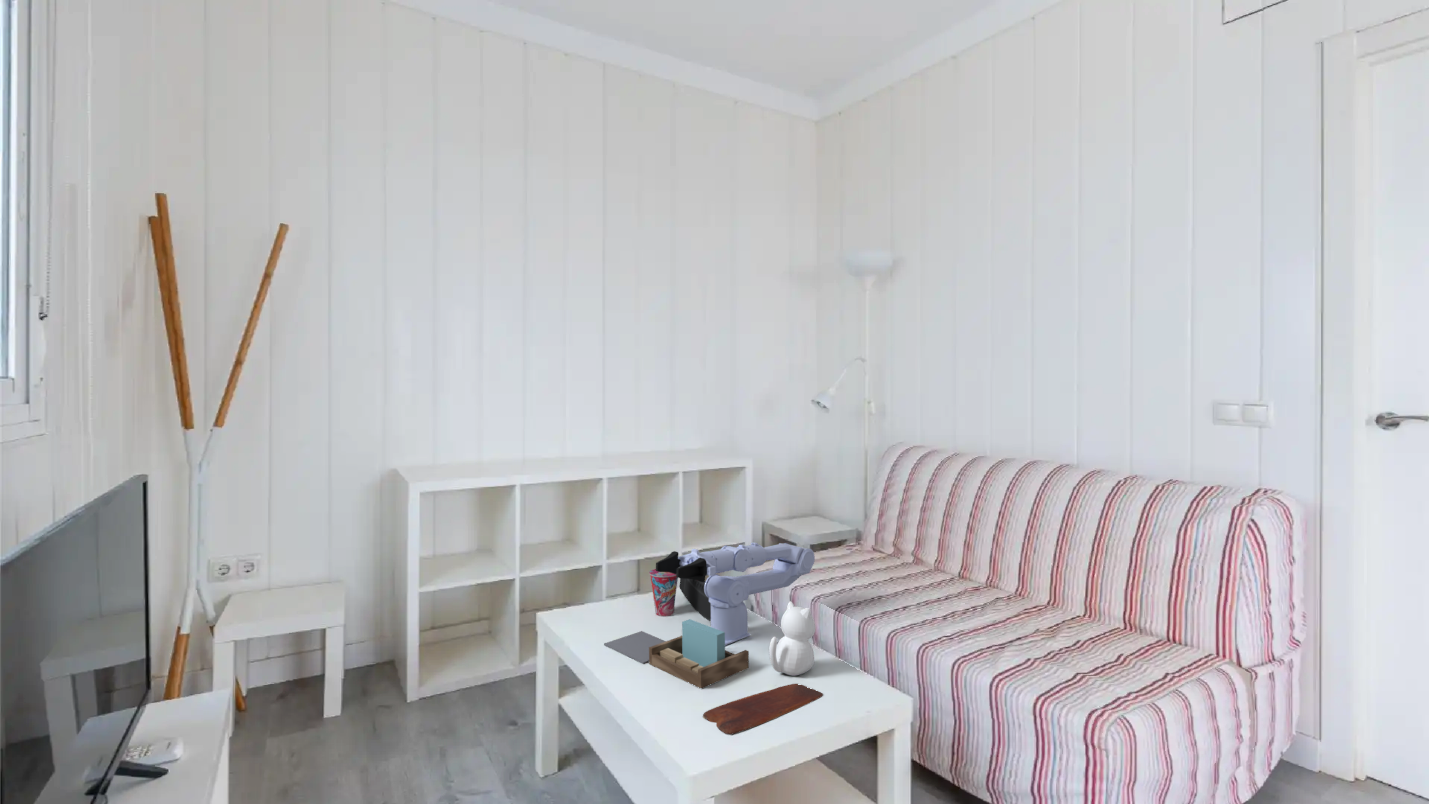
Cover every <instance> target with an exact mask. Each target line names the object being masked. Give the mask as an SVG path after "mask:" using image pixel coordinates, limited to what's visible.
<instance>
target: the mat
mask: <svg viewBox="0 0 1429 804" xmlns="http://www.w3.org/2000/svg"><path fill="white" fill-rule="evenodd" d="M666 641H667V640H663V639H662V638H659V637H657V636H654V635H652V634H650V633H647V632H645V631H643V630H641V631H637V632H635V633H632V634H629V635H626V636H623V637H619V638H616V639H613V640H611V641H608V642H605V643H604V644H603V646H605V647H607V648H609V649H611V650H613V651H615V652H617V653H618V654H619V653H620V654H621V655H624V656H626V657H628V658H630V659H632V660H634V661H636V662H638V663H640V664H642V665H645V664H648V663H649V647H652V646H654V645H657V644H660V643H663V642H666Z"/></svg>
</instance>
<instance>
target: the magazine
mask: <svg viewBox="0 0 1429 804" xmlns="http://www.w3.org/2000/svg"><path fill="white" fill-rule="evenodd" d="M705 582H706V580H705V581H704V582H699V581H697V580H694V579H684V578H679V589H680V591H681V593H682V594H683V596H684V597H685V599H686V600H687V601H688V603H689V604H690V606H692V608H693V609H694V610H695V611H696V612H697V613H698V614H700V616H701V617H703V618H704V619H706V620H707V621H709V622H711V603H710V602H709V598H708V597H707V596H706V595H705V592H704V585H705Z"/></svg>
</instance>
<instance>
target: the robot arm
mask: <svg viewBox="0 0 1429 804" xmlns="http://www.w3.org/2000/svg"><path fill="white" fill-rule="evenodd" d="M772 560H774V563H773V566H772V569H770V570H766V571H765V570H764V571H760V572H754V573H749V574H743V575H739V576H731V575H719V574H720V573H725V572H729V571H730V572H731V571H735V572H740V573H745V572H746V570H748V568H755V567H760V566H763V565H764V563H765V562H766V561H772ZM814 564H815V553H814V550H813V549H812V548H809V547H807V548H805V547H802V546H797V545H792V544H789V543H787V542H784V543H781V542H779V543H778V544H774V545H769V546H765V547H763V545H761V544H759V543H758V542H754V541H753V542H750V545H749V544H748V545H744V544H739V545H738V546H737V547H735V546H732V545H731V546H730V545H728V544H726V545H725V544H724V546H722V547H721V548H720V549H714V550H708V551H702V552H700V551H699V549H698V548H692V549H691V552H690V553H686V554H683V555H680V556H679V551H677V550H676V551H675V550H674V551H671V552H670V554H669V555H668V556H666V557H665V558H663V559H661V560H659V561H656V562H655V569H656V571H658V572H671V573H673V574H676V577H677V578H678V579H680V578H684V579H694V580H697V581H699V582H704V581H706V582H705V585H704V592H705V595H706V596H707V597H708V598H709V602H710V603H711V621H710V627H712V628H715V629H717V630H720V631H723V632H725V646H727V645H729V644H732V643H734V642H737V641H739V640H742V639H745V638H748V637H750V636H751V633H749V632H748V631H749V630H748V629H749V624H748V623H749V622H748V621H749V620H748V608H747V605H746V603H745V602H744V601H748V600H749V596H750V595H756V594H760V593H764V592H765V593H766V592H768V591H774V590H779V589H782V588H783V589H784V588H787V587H789V586H791V585H792V584H793V583H794V582H796V581H797V580H798V579H799V578H800V577H802V576H804V575H808V574H810V573H811V570H812V568H813V566H814ZM706 576H708V577H707V578H706Z"/></svg>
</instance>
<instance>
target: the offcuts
mask: <svg viewBox="0 0 1429 804" xmlns="http://www.w3.org/2000/svg"><path fill="white" fill-rule="evenodd" d="M660 656H661V657H664V658H666V659H668V660H670V661H672V662H675V663H677V664H679V665H681V666H683V667H685V668H688V669H690V670H692V671H694V672H696V673H698V669H700V668H702V666H699V664H698V663H696V662H694V661H692V660H689V659H687V658H685V657H684V658H683V654H680V653H678V652H676V651H674V650H671V649H669V648H667V649H664V650H661V651H660Z"/></svg>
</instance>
